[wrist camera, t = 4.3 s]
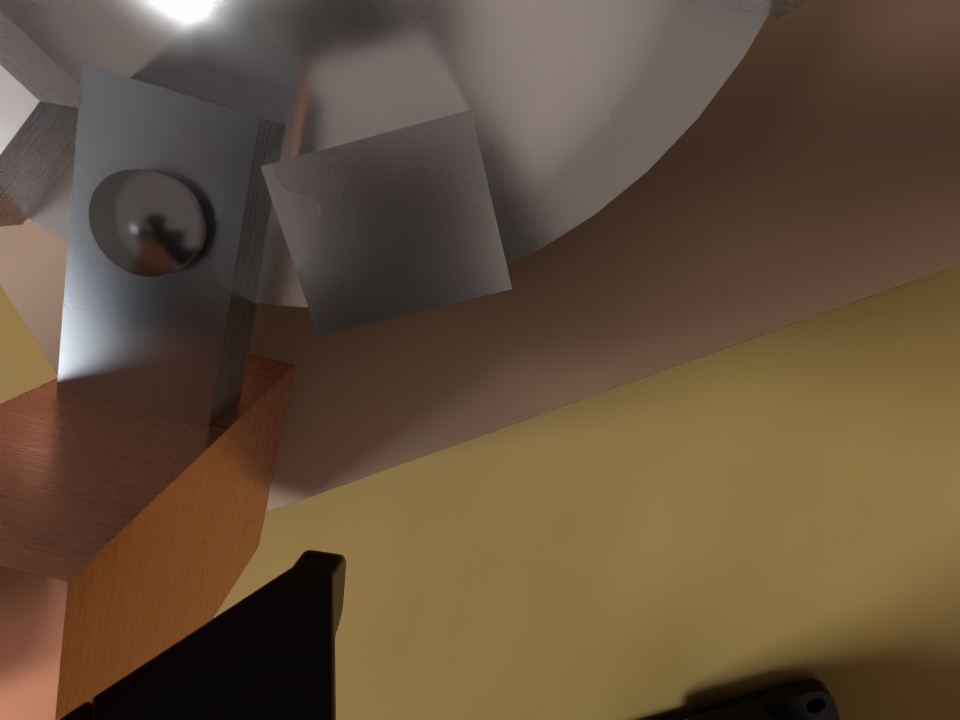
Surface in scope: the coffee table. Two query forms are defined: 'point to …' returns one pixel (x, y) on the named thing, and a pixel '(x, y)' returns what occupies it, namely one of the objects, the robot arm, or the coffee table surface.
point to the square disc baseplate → (639, 252)
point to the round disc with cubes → (273, 251)
